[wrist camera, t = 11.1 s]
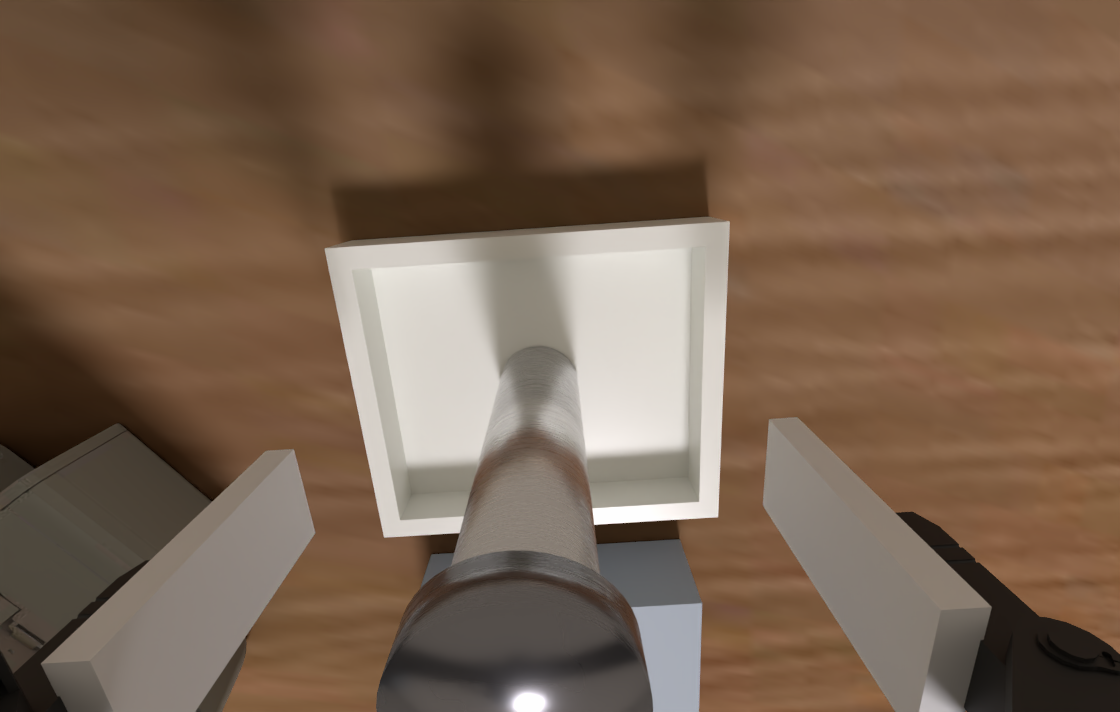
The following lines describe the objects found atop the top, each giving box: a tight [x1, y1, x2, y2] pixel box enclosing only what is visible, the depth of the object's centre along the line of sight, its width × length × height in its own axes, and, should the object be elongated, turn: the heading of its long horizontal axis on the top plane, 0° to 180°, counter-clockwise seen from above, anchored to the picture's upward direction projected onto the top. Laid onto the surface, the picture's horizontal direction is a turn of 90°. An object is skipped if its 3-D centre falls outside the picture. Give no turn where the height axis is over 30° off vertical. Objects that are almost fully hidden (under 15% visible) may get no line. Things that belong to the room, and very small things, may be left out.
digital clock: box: [0, 423, 246, 712], centre depth 20 cm, size 16×9×11 cm, turn 27°
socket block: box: [420, 539, 702, 712], centre depth 25 cm, size 12×12×4 cm
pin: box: [376, 346, 653, 712], centre depth 15 cm, size 4×4×14 cm
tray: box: [325, 217, 730, 538], centre depth 21 cm, size 14×12×2 cm
